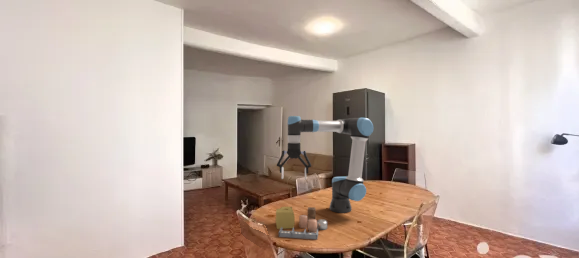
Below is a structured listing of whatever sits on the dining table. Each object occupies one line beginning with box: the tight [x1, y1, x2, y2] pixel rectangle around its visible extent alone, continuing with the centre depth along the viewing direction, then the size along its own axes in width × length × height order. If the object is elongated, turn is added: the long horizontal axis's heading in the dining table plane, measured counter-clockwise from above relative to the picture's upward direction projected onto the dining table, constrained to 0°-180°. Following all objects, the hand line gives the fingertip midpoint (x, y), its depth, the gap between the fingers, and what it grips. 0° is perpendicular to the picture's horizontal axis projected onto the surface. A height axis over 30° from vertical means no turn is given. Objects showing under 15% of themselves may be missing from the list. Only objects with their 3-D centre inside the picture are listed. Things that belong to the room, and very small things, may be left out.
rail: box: [278, 227, 319, 240], centre depth 144 cm, size 21×8×3 cm, turn 80°
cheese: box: [275, 206, 296, 230], centre depth 157 cm, size 10×11×10 cm
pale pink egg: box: [307, 218, 317, 233], centre depth 149 cm, size 5×5×6 cm
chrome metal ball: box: [316, 218, 328, 231], centre depth 154 cm, size 6×6×4 cm
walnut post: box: [307, 206, 316, 220], centre depth 164 cm, size 4×4×8 cm
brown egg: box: [298, 214, 308, 229], centre depth 156 cm, size 5×5×6 cm
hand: (293, 178), depth 155 cm, fingers open, 13 cm apart
